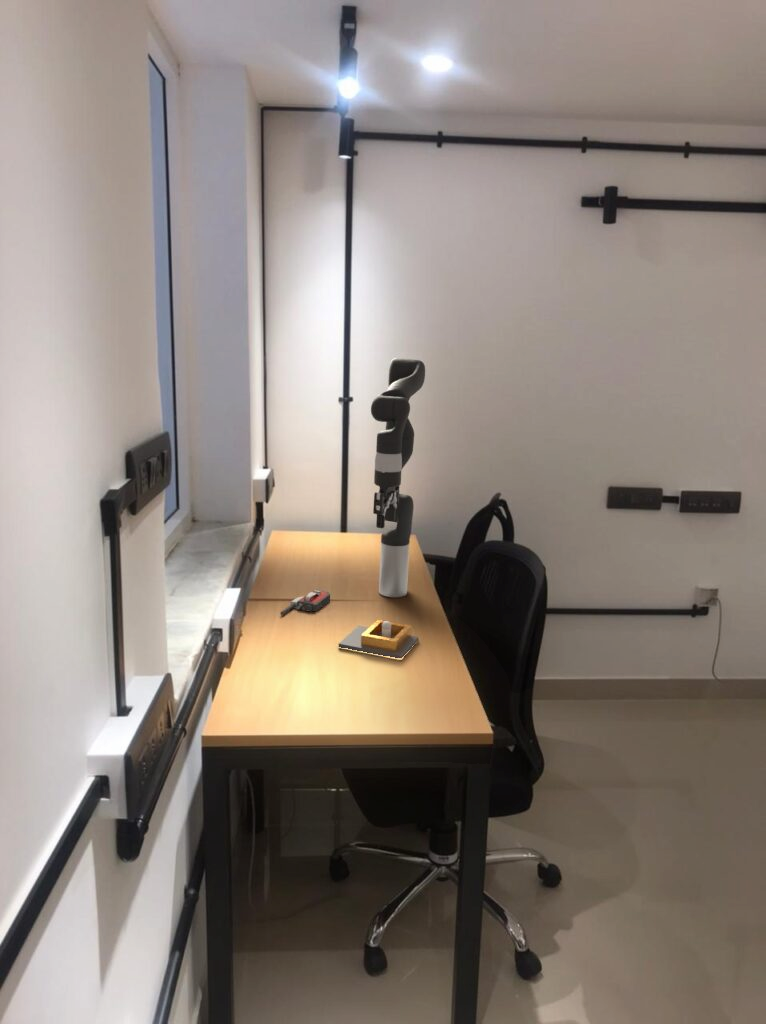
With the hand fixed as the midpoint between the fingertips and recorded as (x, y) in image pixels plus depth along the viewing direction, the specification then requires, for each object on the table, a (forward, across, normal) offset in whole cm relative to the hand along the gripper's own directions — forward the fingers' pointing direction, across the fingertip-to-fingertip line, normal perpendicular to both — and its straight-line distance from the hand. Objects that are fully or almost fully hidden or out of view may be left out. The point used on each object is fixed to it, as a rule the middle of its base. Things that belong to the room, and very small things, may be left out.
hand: (385, 524), depth 218 cm
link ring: (+29, +14, +7) cm, 33 cm away
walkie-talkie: (+31, -2, -25) cm, 40 cm away
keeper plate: (+30, +15, +5) cm, 34 cm away
